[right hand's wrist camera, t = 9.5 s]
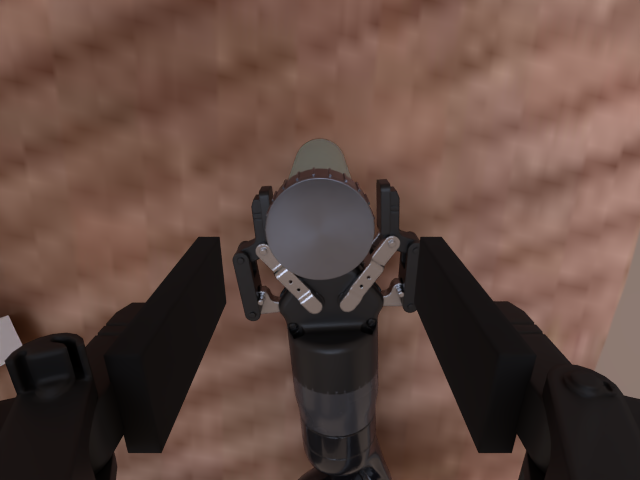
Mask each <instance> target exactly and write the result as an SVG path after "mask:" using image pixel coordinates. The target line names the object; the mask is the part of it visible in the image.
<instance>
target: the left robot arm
mask: <svg viewBox="0 0 640 480" xmlns="http://www.w3.org/2000/svg"><path fill="white" fill-rule="evenodd" d="M376 188H377V227H378V229H379V231H378V232H377V234H376V235H375V236H374V239H373V243H372V246H371V248H370V250H369V252H368V254H367V256H366V257H365V258H364V260H363V261H362V262H361V263H360V264H359V265H358V266H357V267H356V268H354V269H353V270H352V271H350V272H348V273H347V274H344V275H342V276H340V277H337V278H333V279H328V280H313V279H307V278H303V277H300V276H298V275H295V274H294V273H292V272H290V271H288V270H287V269H286V268H284V267H283V266H282V265H281V264H280V263H279V262H278V261H277V260H276V258H275V257H274V255H273V254H272V252H271V250H270V248H269V246H268V243H267V239H266V231H265V226H266V219H267V216H266V213H267V211H268V209H269V206H270V205H271V204H272V198H273V191H272V186H262V187H261V189H260V191H259V194H258V195H256V196H255V198H254V200H253V203H252V214H253V222H254V229H255V236H256V238H255V239H253V240H250V241H243V242H241V243H240V245H239V247H238V250H237V252H236V253H235V255H234V257H233V264H234V269H235V273H236V277H237V282H238V286H239V290H240V295H241V299H242V303H243V307H244V312H245V316H246V318H247V319H248V320H250V321H256V320H258V319H259V318H260V315H261V314H265V313H274V312H280V313H281V314H282V315H283V316H284V318H285V320H286V322H287V329H288V337H289V346H290V355H291V364H292V373H293V381H294V390H295V396H296V399H297V403H298V406H299V410H300V419H301V428H302V437H303V445H304V449H305V453H306V455H307V458H308V460H309V461H310V463H311V464H312V465H313V466H314V468H312V469H311V470H309V471H308V472H306V473H305V474H304V475H302V476H301V477H300V478H299V479H298V480H392V478H391V474H390V472H389V469H388V467H387V465H386V463H385V460H384V458H383V455H382V452H381V449H380V446H379V443H378V440H377V436H376V399H377V394H378V314H379V312H380V310H381V309H382V307H383V306H403V309H404V310H405V311H406V312H408V313H412V312H414V311H416V310H417V309H416V307H415V305H414V295H415V285H416V275H417V266H418V256H419V247H420V240H419V239H418V237H417V236H416V234H415V233H414V232H410V231H409V232H404V231H401V230H399V196H398V193H397V191H396V190H395V188H394V187H390V183H389V182H388V180H387V179H380V180H377V183H376ZM396 251H399V252H400V264H399V276H398V278H394V279H393V280H392V281H391V283H390V286H389V288H388V289H386V290H384V291H381V289H380V287H379V286H378V285H377V284H376V282H375V281H376V279H377V278H378V277H379V276H380V275H381V273H382V272H383V270H384V266H385V264H386V263H387V262H388V260H389V259H390V258H391V257H392V255H393V254H394V253H395V252H396ZM258 259H261V260H262V261H263V262H264V263H265V264H266V265H267V266H268V267H269V268H270V269H271V270H272V271H273V272H274V275H275V277H276V278H277V279H278V280H279V281H280V282H281V283H282V284H283V285H284V286H285V288H284V289H283V291H282V292H281V294H280V297H277V296H274V295H273V294H272V293H271V291H270V289H269V288H268V287H267V286H262V285H261V280H260V275H259V270H258V265H257V260H258Z"/></svg>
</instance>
